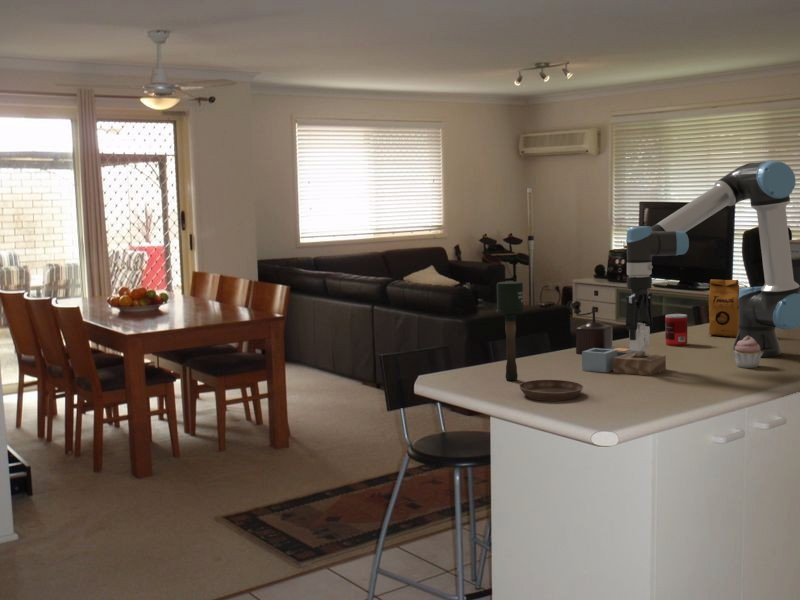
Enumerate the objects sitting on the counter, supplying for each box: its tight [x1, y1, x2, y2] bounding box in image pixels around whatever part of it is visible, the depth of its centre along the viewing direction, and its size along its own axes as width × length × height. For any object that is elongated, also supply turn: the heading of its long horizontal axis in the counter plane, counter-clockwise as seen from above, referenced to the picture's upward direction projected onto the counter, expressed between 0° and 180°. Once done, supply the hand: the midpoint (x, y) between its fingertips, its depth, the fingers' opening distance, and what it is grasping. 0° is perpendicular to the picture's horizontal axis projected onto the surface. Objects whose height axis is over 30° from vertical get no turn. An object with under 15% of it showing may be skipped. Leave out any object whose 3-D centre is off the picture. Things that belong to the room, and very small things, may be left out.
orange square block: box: [613, 348, 629, 352], centre depth 296 cm, size 5×5×4 cm
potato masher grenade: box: [495, 281, 525, 382], centre depth 272 cm, size 8×9×30 cm
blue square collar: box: [581, 348, 617, 373], centre depth 286 cm, size 8×8×6 cm
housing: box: [607, 345, 634, 357], centre depth 296 cm, size 10×10×4 cm
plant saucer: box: [518, 379, 584, 402], centre depth 250 cm, size 18×18×3 cm
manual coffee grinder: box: [570, 300, 613, 355], centre depth 320 cm, size 16×11×18 cm
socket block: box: [613, 353, 667, 376], centre depth 281 cm, size 12×12×4 cm
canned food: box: [664, 313, 688, 347], centre depth 329 cm, size 8×8×11 cm
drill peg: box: [634, 322, 647, 358], centre depth 281 cm, size 4×4×15 cm
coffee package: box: [708, 278, 740, 338], centre depth 346 cm, size 10×12×22 cm
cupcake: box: [731, 336, 763, 369], centre depth 282 cm, size 9×9×10 cm
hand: (639, 348), depth 281 cm, fingers open, 8 cm apart
